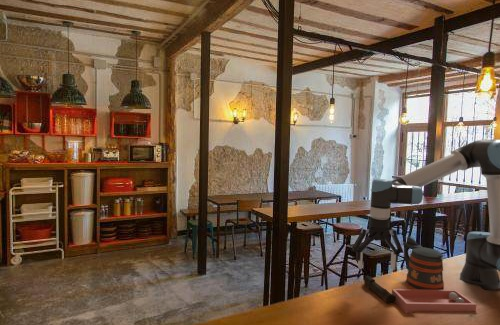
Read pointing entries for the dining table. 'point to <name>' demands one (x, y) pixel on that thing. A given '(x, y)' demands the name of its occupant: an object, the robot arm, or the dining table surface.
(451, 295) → the light grey ball
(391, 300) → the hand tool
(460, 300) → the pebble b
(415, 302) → the pink tray
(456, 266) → the dining table surface
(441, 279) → the beer stein
